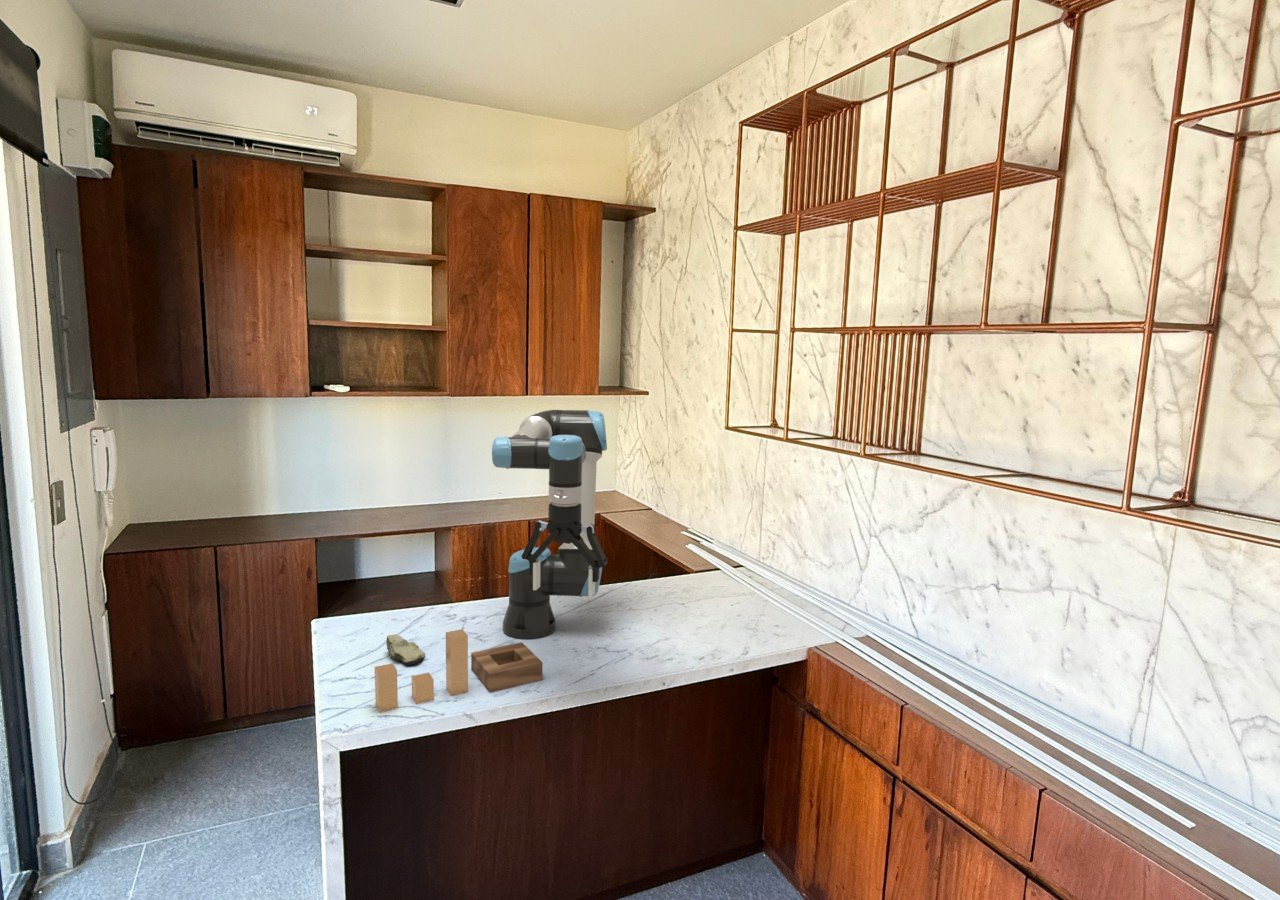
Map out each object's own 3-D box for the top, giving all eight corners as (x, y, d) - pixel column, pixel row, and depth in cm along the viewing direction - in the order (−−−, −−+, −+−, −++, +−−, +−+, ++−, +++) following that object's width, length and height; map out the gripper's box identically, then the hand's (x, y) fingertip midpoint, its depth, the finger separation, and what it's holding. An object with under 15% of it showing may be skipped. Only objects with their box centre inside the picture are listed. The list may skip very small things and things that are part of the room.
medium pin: (375, 704, 156) (374, 666, 155) (393, 700, 158) (393, 663, 157) (379, 712, 153) (378, 674, 152) (397, 708, 155) (397, 670, 154)
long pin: (446, 688, 165) (445, 632, 163) (462, 684, 167) (462, 629, 165) (451, 695, 161) (450, 638, 159) (468, 691, 163) (467, 635, 161)
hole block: (471, 669, 175) (471, 652, 174) (521, 658, 182) (521, 642, 181) (489, 692, 163) (489, 674, 163) (542, 679, 170) (542, 662, 170)
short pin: (411, 696, 160) (411, 676, 160) (429, 692, 163) (429, 672, 162) (416, 704, 157) (415, 683, 156) (433, 700, 159) (433, 679, 158)
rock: (420, 671, 176) (430, 648, 185) (418, 649, 174) (428, 627, 183) (377, 672, 175) (389, 649, 184) (375, 650, 173) (386, 628, 183)
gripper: (507, 502, 158) (507, 591, 161) (613, 511, 152) (610, 603, 156) (520, 495, 165) (520, 580, 168) (621, 503, 160) (619, 591, 163)
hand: (563, 591), depth 162 cm, fingers open, 13 cm apart
